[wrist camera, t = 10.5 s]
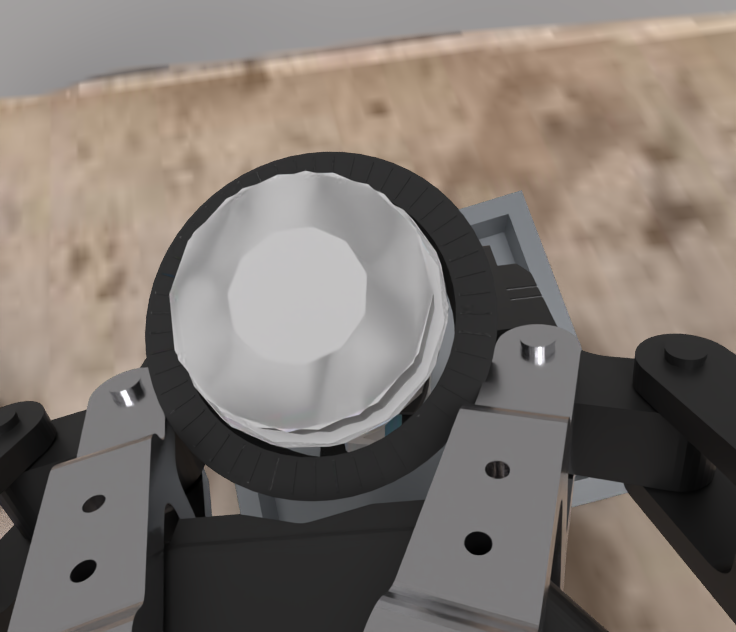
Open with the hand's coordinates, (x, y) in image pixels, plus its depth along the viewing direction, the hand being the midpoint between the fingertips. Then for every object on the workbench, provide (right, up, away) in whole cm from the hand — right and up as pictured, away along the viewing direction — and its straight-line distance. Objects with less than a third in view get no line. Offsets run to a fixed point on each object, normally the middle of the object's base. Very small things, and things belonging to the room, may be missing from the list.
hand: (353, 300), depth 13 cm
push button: (+1, -2, +4) cm, 5 cm away
